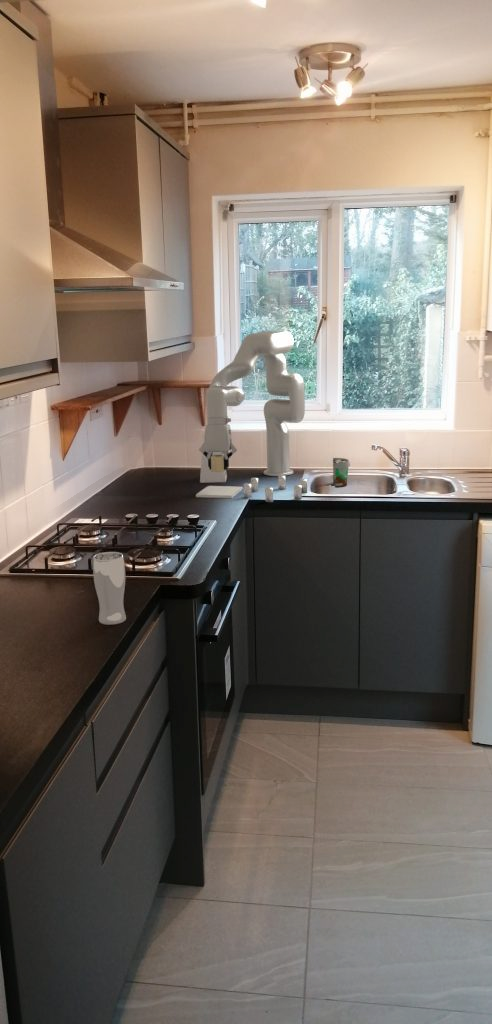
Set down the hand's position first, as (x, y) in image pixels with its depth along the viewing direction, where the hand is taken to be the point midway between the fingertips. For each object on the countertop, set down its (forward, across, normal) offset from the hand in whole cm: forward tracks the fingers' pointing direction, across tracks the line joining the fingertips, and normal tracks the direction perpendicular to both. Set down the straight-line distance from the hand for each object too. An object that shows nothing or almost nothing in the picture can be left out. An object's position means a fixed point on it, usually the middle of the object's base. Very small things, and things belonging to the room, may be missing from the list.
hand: (218, 468), depth 309 cm
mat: (+10, 0, 0) cm, 10 cm away
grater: (+10, +10, -25) cm, 29 cm away
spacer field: (+10, -22, 0) cm, 24 cm away
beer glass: (+11, -14, +133) cm, 134 cm away
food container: (+9, -44, -21) cm, 50 cm away
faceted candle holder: (+1, 0, 0) cm, 1 cm away
